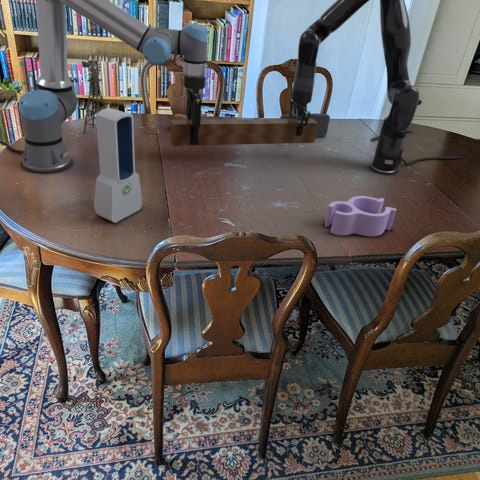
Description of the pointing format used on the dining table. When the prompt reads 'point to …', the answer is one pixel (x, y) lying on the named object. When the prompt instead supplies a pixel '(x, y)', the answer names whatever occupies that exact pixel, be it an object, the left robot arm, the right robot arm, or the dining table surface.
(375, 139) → the sword
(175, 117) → the lion figurine
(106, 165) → the electronic device
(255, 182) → the dining table surface
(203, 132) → the beam
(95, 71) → the miniature windmill
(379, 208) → the clip
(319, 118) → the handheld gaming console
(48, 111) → the left robot arm
